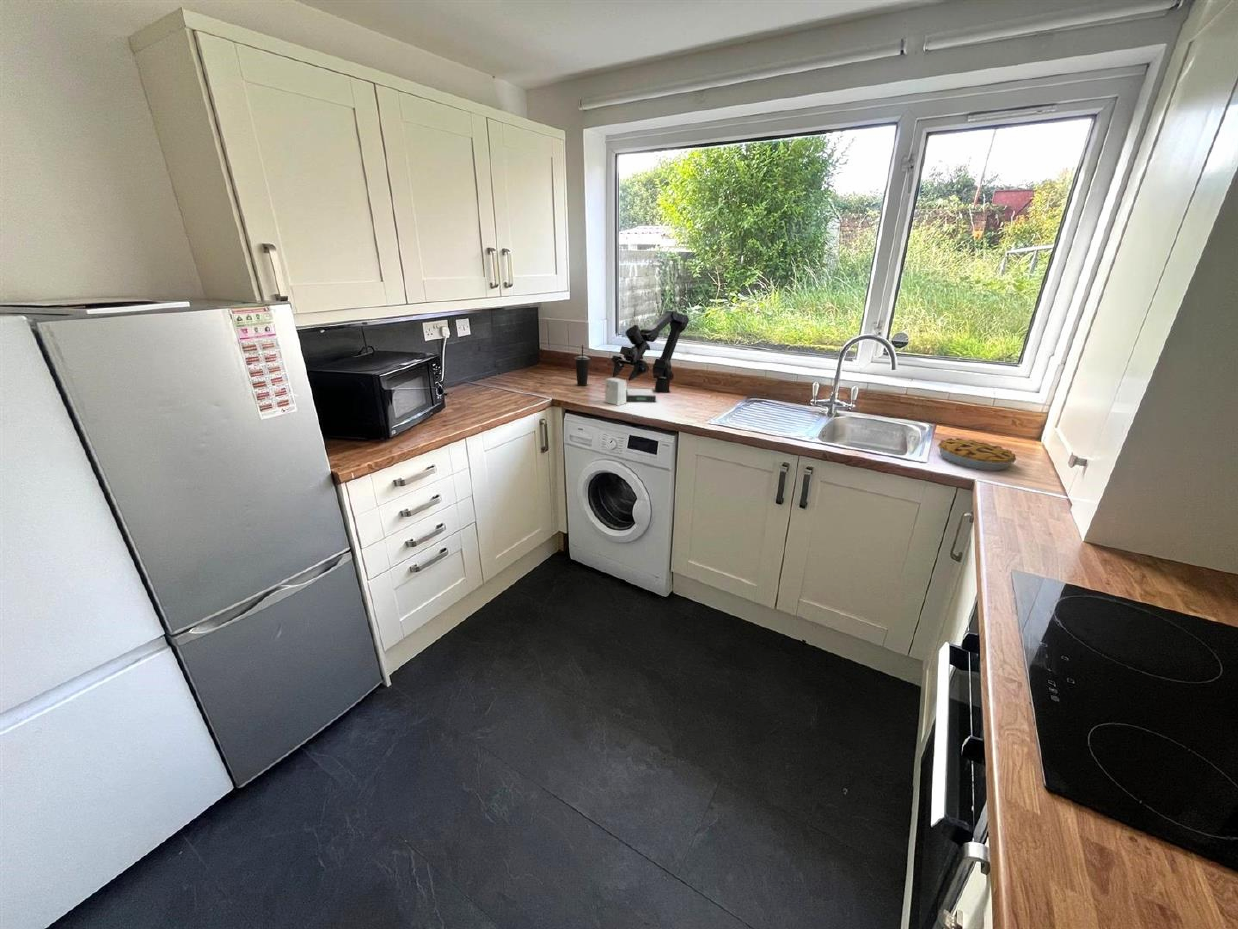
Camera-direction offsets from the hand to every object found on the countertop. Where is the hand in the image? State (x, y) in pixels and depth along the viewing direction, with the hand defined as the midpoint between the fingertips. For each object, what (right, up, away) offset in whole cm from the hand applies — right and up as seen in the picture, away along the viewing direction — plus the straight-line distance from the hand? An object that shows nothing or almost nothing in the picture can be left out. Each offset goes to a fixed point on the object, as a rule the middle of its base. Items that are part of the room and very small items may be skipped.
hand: (620, 378), depth 222 cm
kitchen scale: (+9, -7, +11) cm, 16 cm away
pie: (+118, -37, -55) cm, 135 cm away
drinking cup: (-20, +2, +33) cm, 38 cm away
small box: (-3, -11, +1) cm, 11 cm away
